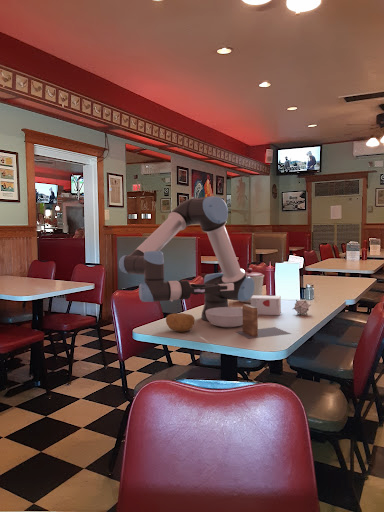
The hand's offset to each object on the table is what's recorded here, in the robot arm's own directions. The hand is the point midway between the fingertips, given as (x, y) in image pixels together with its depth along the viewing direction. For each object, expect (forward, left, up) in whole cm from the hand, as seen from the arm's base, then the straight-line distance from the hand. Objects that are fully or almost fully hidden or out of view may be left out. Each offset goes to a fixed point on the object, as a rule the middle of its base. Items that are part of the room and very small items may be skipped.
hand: (233, 286), depth 168 cm
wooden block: (+6, +4, -21) cm, 22 cm away
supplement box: (+6, +51, -17) cm, 54 cm away
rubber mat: (+12, +7, -21) cm, 25 cm away
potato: (-25, +8, -21) cm, 33 cm away
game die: (+31, +49, -21) cm, 62 cm away
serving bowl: (-4, +20, -21) cm, 30 cm away
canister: (+3, +87, -21) cm, 89 cm away
